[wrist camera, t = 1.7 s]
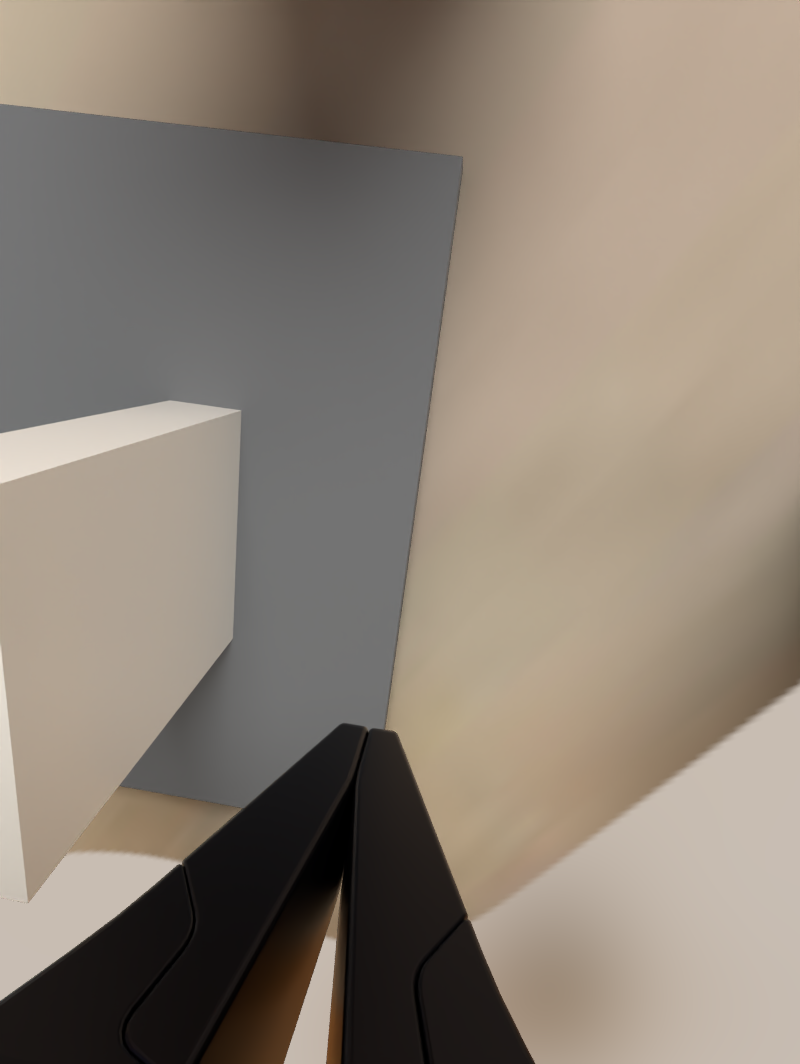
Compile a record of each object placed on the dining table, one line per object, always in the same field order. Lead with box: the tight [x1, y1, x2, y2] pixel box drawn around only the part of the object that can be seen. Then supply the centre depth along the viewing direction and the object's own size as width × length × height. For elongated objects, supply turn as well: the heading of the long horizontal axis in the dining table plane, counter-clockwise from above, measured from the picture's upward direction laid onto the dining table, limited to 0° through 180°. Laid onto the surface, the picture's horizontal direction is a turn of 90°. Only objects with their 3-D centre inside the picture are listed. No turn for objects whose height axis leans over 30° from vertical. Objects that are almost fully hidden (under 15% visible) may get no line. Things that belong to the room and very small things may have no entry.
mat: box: [0, 104, 463, 808], centre depth 18 cm, size 20×20×1 cm
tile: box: [0, 400, 241, 903], centre depth 13 cm, size 2×7×9 cm, turn 173°
